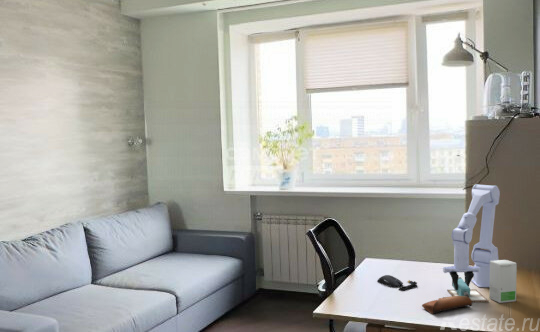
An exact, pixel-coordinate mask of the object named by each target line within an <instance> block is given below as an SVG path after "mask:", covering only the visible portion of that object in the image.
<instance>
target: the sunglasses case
mask: <svg viewBox="0 0 540 332" xmlns="http://www.w3.org/2000/svg"><path fill="white" fill-rule="evenodd" d="M472 305H473V302H472V301H471V299H470V298H469V297H466V296H451V295H450V296H445V297H444V296H443V297H439V298H438V299H434V300H431V301H427V302H425V303H423V304H421V307H422V308H423V309H424V310H425V311H427V312H428V313H430V314H432V315H433V314H436V313H441V312H444V311H447V310H452V309H458V308H462V307H472Z"/></svg>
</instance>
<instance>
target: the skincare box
mask: <svg viewBox="0 0 540 332" xmlns="http://www.w3.org/2000/svg"><path fill="white" fill-rule="evenodd" d="M517 273H518V272H517V262H514V261H511V260H508V259H498V260H495V261H490V287H489V291H488V293H489V299H490V300H492V301H495V302H497V303H498V304H502V303H511V302H516V301H517Z"/></svg>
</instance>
